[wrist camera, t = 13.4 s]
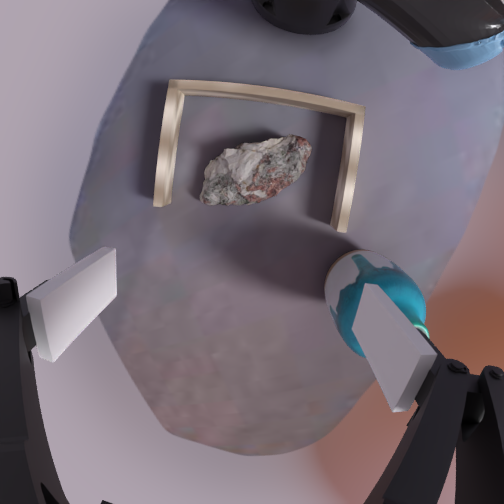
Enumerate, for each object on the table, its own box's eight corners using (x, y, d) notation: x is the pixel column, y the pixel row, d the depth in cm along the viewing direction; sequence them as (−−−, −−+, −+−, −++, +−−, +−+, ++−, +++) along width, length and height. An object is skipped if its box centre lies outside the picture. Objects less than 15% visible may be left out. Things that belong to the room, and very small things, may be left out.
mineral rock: (205, 210, 41) (199, 216, 36) (194, 153, 39) (187, 152, 34) (314, 192, 40) (320, 196, 36) (304, 134, 38) (310, 131, 33)
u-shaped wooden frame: (177, 87, 36) (169, 79, 32) (355, 111, 36) (365, 106, 32) (162, 202, 40) (153, 205, 36) (338, 226, 41) (345, 232, 37)
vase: (316, 311, 44) (347, 398, 26) (317, 242, 41) (360, 302, 23) (381, 305, 44) (437, 380, 26) (387, 239, 41) (461, 290, 23)
